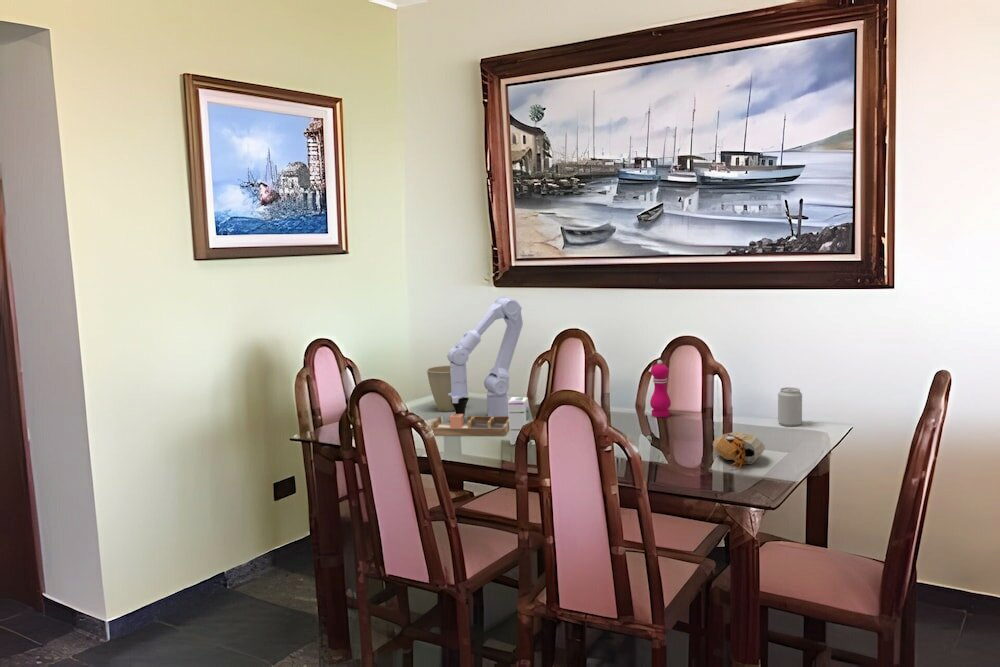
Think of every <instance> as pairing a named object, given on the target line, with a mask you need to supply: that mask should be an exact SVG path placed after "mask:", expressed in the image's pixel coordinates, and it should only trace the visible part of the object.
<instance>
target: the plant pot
mask: <svg viewBox="0 0 1000 667" xmlns="http://www.w3.org/2000/svg"><path fill="white" fill-rule="evenodd" d="M426 373H427V378H428V382H429V388H430V390H431V394H432V397H433V399H434V402H435V405H436V407H437V409H438V411H439V410H440V412H453V410H455V409H454V406H453V405H452V403H451V400H452V397H451V396H448V394H449V393H451V374H450V365H440V366H433V367H429V368H427V369H426Z"/></svg>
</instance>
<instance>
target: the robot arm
mask: <svg viewBox="0 0 1000 667" xmlns="http://www.w3.org/2000/svg"><path fill="white" fill-rule="evenodd" d="M500 319H503V321H504V322H505V324H506V328H505V330H504V334H503V337H502V340H501V342H500V347H499V350H498V353H497V357H496V360H495V362H494V365H493V367H492V368H491V369H490V370H489V373H488V375H486V377H485V378H484V382H483V385H484V387H485V389H486V390H487V393H486V404H487V416H509V414H508V401H509V399H508V391H509V388H510V385H509V380H510V377H511V376H510V373H509V369H510V367H511V363H512V360H513V358H514V353H515V351H516V350H515V349H516V347H517V344H518V341H519V339H520V334H521V331H522V328H523V326H524V325H523V322H524V321H523V317H522V306H521V305H520V303H519V302H518V300H516V299H514V298H509V297H505V296H500V297H497V298H496V300H495V302H493V303H492V304H491V305H490V307H489V308H488V310H487V311H486V313H485V314H484V316H482V318H481V319H480V320H479V322H478V324H476V326H475V327H474V328H473V330H467V332H466V331H464V333H463V334H462V335H463V337H462V338H461V339H460V340H459V341H458V343H455V344H454V347H452V348H450V349H449V351H448V352H447V353H448V354H447V355H446V358H447V360H448V361H449V364H450V365H449V366H450V374H451V393H449V394H448V396H451V397H452V400H451V403H452V405H453V406H454V409H455V414H464V416H465V414H466V408H467V403H468V402H469V397H468V396H469V392H468V378H467V377H468V375H467V362H469V357H470V356H469V355H471V353H472V352H473V351H474V350H475V348H476V347H477V346H478V345H479V344H480V342H481V340H482V339H481V337H482V335H483V334H484V333H485V332H486V331H487V329H489V327H490V326H492V324H493V323H495V322H496V321H497V320H500Z"/></svg>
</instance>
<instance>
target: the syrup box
mask: <svg viewBox="0 0 1000 667" xmlns="http://www.w3.org/2000/svg"><path fill="white" fill-rule="evenodd" d="M529 409H530V408H529V397H527V396H513V397H512V396H511V397H510V398H509V399H508V414H509V430H508V432H509V442H510V445H514V444H515V439H516V437H517V434H518V432H519V431H520V429H521V427H522V426H523V425H525V424H527V423H529V424H530V410H529ZM514 446H515V445H514Z"/></svg>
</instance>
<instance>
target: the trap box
mask: <svg viewBox="0 0 1000 667" xmlns="http://www.w3.org/2000/svg"><path fill="white" fill-rule="evenodd" d="M428 426H430V427H431V429H432V430H433V433H434V435H435V436H434V437H439V436H440V437H441V436H442V437H443V436H444V437H449V436H450V437H505V436H506V435H507V434H508V432H509V416H488V415H469V416H467V423H465V422H464V426H463V427H462V428H450V422H448V423H445V422H444V423H442V416H441V415H438V416H437V417H436V418H435V419H434V420H433V421H432V422H431V423H430V424H428Z"/></svg>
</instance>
